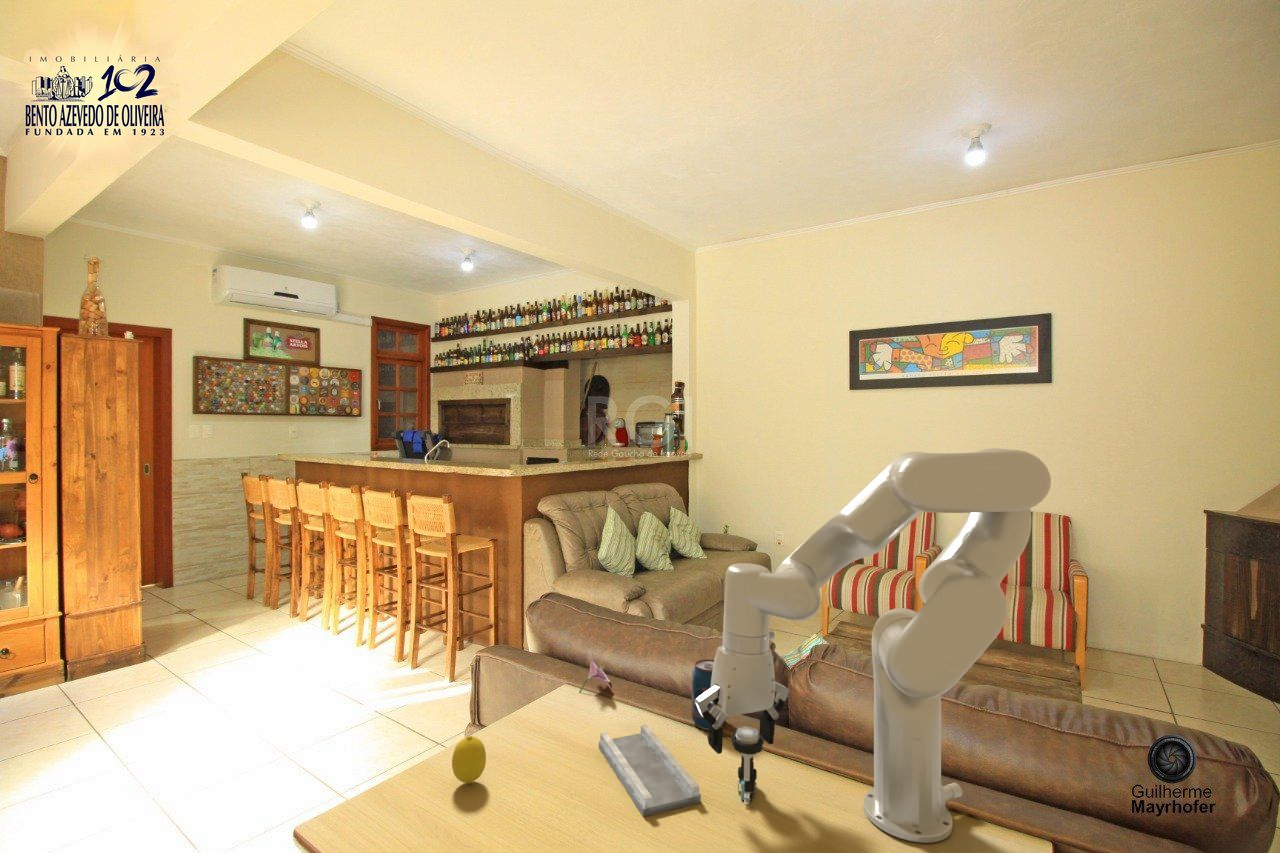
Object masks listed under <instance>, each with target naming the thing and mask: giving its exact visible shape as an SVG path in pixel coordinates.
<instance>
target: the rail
mask: <svg viewBox="0 0 1280 853" xmlns="http://www.w3.org/2000/svg"><path fill="white" fill-rule="evenodd" d="M599 735H600V738H599V739H600V741H598V749H599V750H600V752H601V753H602V755H603V757H604V758H605V760H606V761H607V763H608V764H609V766H610V768H611V769H612V770H613V772H614V773H615V775H616V777H617V778H618V780H619V781H620V783H621V785H622V786H623V788H624V789H625V791H626V792H627V794H628V796H629V797H630V799H631V800H632V802H633V804H634V805H635V807H636V808H637V810H638V812H640V814H641V816H642V818H645V817H649V816H653V815H657V814H661V813H665V812H668V811H673V810H675V809H681V808H684V807H688V806H693V805H695V804H699V803H702V795H701V794H700V785H699V784H698V783H697V781H696V780H695V779H694V778H693V777H692V775H691V774H690V773H689V772H688V771H687V770H686V769H685V768H684V766H683V765H682V764H681V763H680V762H679V761H678V759H677V758H676V757H675V756H674V755H673V753H671V751H670V750H669V749H668V748H667V747H666V745H665V744H664V743H663V742H662V741H661V740H660V738H658V736H657V735H656V734H655V733H654V731H653V730H652V729H651V728H650V726H648V724H642V725H640V732H639V733H636V734H635V733H634V734H630V735H625V736H621V737H615V738H611V736H610V735H609V733H608V732H607V731H604V732H601V733H600V734H599Z"/></svg>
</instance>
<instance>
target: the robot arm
mask: <svg viewBox="0 0 1280 853" xmlns="http://www.w3.org/2000/svg"><path fill="white" fill-rule="evenodd" d="M1051 486H1052V477H1051V474H1050V471H1049V469H1048V467H1047V466H1046V463H1045V462H1043V461H1042V460H1041V459H1040V458H1039V457H1038V456H1036V455H1034V454H1033V453H1030V452H1027V451H1025V450H1020V449H1009V448H993V447H992V448H984V449H980V450H978V451H975V452H974V451H973V452H958V453H957V452H956V453H955V452H954V453H951V452H949V453H944V452H943V453H941V452H939V453H935V452H934V453H933V452H920V451H909V452H906V453H902V454H899V456H897V457H895V458H894V459H893V460H892V461H891V462H889V463H888V465H886V466H885V467H884V468H883V469H882V470H881V471H880V472H878V474H877V475H876V476H874V478H873V479H872V480H871V481H869V483H868V484H866V485H865V486H864V488H863V489H861V490H860V491H859V492H858V493H857V494H856V495H855V496H854V497H853V498H852V499H851V500H850V501H849V502H848V503H846V505H844V507H842V509H840V510H839V511H838V512H837V513H836V514H835V515H833V516H832V517H831V518H830V519H828V521H826V522H825V523H824V524H823V525H822V526H821V527H819V528H818V529H817V530H816V531H815V532H813V533H811V535H810V536H808V537H807V538H806V540H804V541H803V542H802V543H801V544H800V545H799V546H798V547H796V548H795V549H794V550H793V551H792V552H791V554H790V555H788V556H787V557H786V558H785V559H784V560H783V561H782V562H781V563H780V564H779V565H778V567H777V568H776V570H775V571H774V572H771V571H770V570H769V568H767V567H766V566H764V565H760V564H757V563H749V562H748V563H747V562H743V563H742V562H739V563H734V564H730V565H729V566H728V567H727V569H726V572H725V576H724V578H725V580H724V597H723V598H724V600H723V601H724V603H723V621H722V622H723V624H722V626H723V629H722V644H721V646H718V647H717V649H716V653H715V655H714V656H715V657H714V659H713V660H714V665H713V671H712V678H711V687H710V689H709V690H708V691H706V692H705V693H703V694H702V695H701V696H699V697H698V698H696V699H695V704H696V706H697V708H698V710H699V713H700V715H701V716H702V717H703V718H704V719H705V720H706V721H707V722H708V723H709V726H708V730H707V731H708V732H707V734H708V735H707V742H708V745H709V747H710V748H711V749H712V750H713V751H714V752H715V753H716V754H718V755H720V754H722V752H723V744H724V743H723V741H724V729H723V728H722V727H720V726H721V725H722V723H723V722H724V720H725V719H726V720H727V717H728V716H730V717H731V716H737V715H744V714H751V713H757V712H760V716H759V730H758V731H759V732H758V733H759V734H760V735H762V736H763V738H764V741H765V742H766V743H767V744H769V745H773V744H774V738H775V736H774V735H775V727H776V726H775V724H776V720H777V719H779V713H780V711H781V710H782V709H783V708H784V707H785V702H786V700H787V698H788V696H789V694H790V689H789V688H788V687H786V686H785V685H783V684H781V683H779V682H776V676H775V666H774V663H775V662H774V657H773V651H772V648H770V641H771V640H774V639H775V633H774V631H773V630H770V629H771V626H770V625H771V616H774V617H777V618H781V619H784V620H788V621H793V622H803V621H807V620H810V619H812V618H813V617H814V616H815V615H816V614H817V613H818V611H819V610H820V607H821V603H822V594H821V592H820V589H821V588H822V587H823V586H824V585H825V584H826V583H827V582H829V581H830V579H832V578H833V577H834V576H835V575H836V574H837V573H838V572H840V571H841V570H843V568H845V567H846V566H848V565H849V564H852V563H853V562H855V561H858V560H860V559H864V558H867V557H871V556H873V555H876V554H877V553H879V552H882V550H884V549H885V548H886V547H887V546H888V545H889V544H890V543H891V542H892V541H893V540H894V539H895V538H896V537H897V536H899V534H901V533H902V532H903V531H904V530H905V528H907V527H908V526H909V525H910V524H911V523H912V522H913V521H915V519H917V518H918V517H919V516H920V515H921V514H922V513H923V512H924V513H937V514H941V513H942V514H947V513H948V514H967V513H968V514H967V517H966V519H965V521H964V522H963V524H962V525H961V527H960V528H959V529H958V531H957V532H956V534H955V535H954V536H953V538H952V539H951V540H950V541H949V543H948V544H946V546H945V547H944V548H943V550H942V551H941V552H940V553H939V555H937V557H935V559H934V560H933V561H932V562H931V564H930V565H929V566H928V567H927V568H926V569H925V570H924V571H923V572H922V575H921V577H920V579H919V581H918V593H919V597H920V599H921V601H922V603H923V605H922V606H921V608H920V609H919V610H918V611H915V610H913V609H909V608H903V607H901V608H900V607H899V608H893V609H890V610H887V611H886V612H884V613H883V614H881V615H880V616H879V617H878V619H877V620H876V622H875V624H874V626H873V629H872V633H871V634H872V635H871V655H872V656H871V658H872V672H873V705H874V706H873V788H872V789H870V790H869V791H867V792H866V793H865V795H864V797H863V804H862V806H863V810H864V813H865V815H866V816H867V818H868V819H869V820H870V822H871V823H873V824H874V825H875V826H876V827H877V828H879V829H880V830H882V831H883V832H885V833H886V834H889V835H891V836H892V837H896V838H899V839H901V840H905V841H908V842H914V843H920V844H921V843H923V844H930V843H937V842H940V841H943V840H945V839H948V837H950V835H951V834H952V832H953V826H954V824H953V817H952V814H951V813H950V812H949V810H948V809H947V807H946V804H948V803H949V801H950V800H953V799H956V798H959V797H962V795H963V789H962V787H961V786H960V784H958V783H957V782H952V783H949V784H945V785H944V786H943V783H942V699H941V697H942V695H944V694H945V693H947V692H949V690H951V689H952V688H953V687H954V686H955V685H956V684H957V683H958V682H959V681H960V680H961V678H963V677H964V675H965V674H967V672H968V670H970V669H971V668H972V667H973V665H974V664H975V663H976V662H977V661H978V659H979V658H980V657H981V656H982V655H983V653H985V651H986V650H987V649H988V648H989V646H990V645H991V644H992V643H993V642H994V640H995V639H997V637H998V635H999V634H1000V633H1001V632H1002V629H1003V627H1004V625H1005V622H1006V619H1007V615H1008V602H1007V598H1006V595H1005V592H1004V591H1003V589H1002V587H1001V586H1000V583H1001V582H1002V581H1003V580H1004V579H1005V577H1006V576H1007V574H1008V573H1009V572H1010V570H1011V569H1012V568H1013V567H1014V565H1015V564H1016V562H1017V561H1018V560H1019V558H1020V557H1021V555H1022V554H1023V553H1024V550H1025V549H1026V547H1027V544H1028V542H1029V540H1030V535H1031V532H1032V530H1031V529H1032V512H1031V508H1034V507H1036V506H1037V505H1039V504H1041V502H1043V500H1044V499H1045V498H1047V496H1048V494H1049V492H1050V490H1051ZM775 693H776V695H775ZM710 702H711V704H713V705H714V706H713V707H712V709H711V710H710V711H708V708H707V705H708V704H709V703H710ZM719 711H720V713H719ZM718 713H719V714H718ZM717 714H718V716H717ZM716 716H717V717H716ZM715 717H716V719H715ZM726 720H725V721H726ZM724 723H725V722H724ZM722 726H723V725H722Z"/></svg>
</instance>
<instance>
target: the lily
mask: <svg viewBox="0 0 1280 853" xmlns="http://www.w3.org/2000/svg"><path fill="white" fill-rule="evenodd" d="M583 645H584V647H585V649H586V650H587V652H588V653H589V654H588V655H589V656H587V657H588V658H587V659H589V661H590V664H589V676H588V677H587V679H585V681H584V683H583V684H582V686H581V688H580V690H579V693H581V692H582V691H583V689H584V687H585V684H586V683H587V682H588V681H589V679H591V678H593V679H597V680H599V681H603V682H604V683H605V684H606V685H607V686H608V687H609V690H611V692H612V693H613V694H614V691H613V689H612V687H611V686H610V684H609V683H611V681H610V679H609V678H608V676H607V675H606V673H605V671H603V669H604V668H605V667H606V666H605V665H603V664H601V666H600V667H598V666H597V664H596V663H595V662H594V660H593V655H592V654H591V652H590V650H589V649H588V648H587V646H585V644H583ZM608 682H609V683H608Z"/></svg>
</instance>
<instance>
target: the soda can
mask: <svg viewBox="0 0 1280 853" xmlns="http://www.w3.org/2000/svg"><path fill="white" fill-rule="evenodd" d="M714 660H715V659H710V658H708V659H706V658H704V659H700V660H698V661H696V662H695V664H694V668H693V670H692V672H691V694H692V695H691V718H692V721H693V722H694V724H695V726H696V727H698V728H699V729H702V730H706V731H708V726H709V723H708V722H707V721H706V720H705V719H704V718H703V717H702V716H701V715H700V713H699V710H698V708H697V706H696V704H695V699H696V698H698V697H699V696H701V695H702V694H703V693H705V692H706V691H708V690H709V689H710V687H711V678H712V671H713V665H714ZM713 706H714V705H713V704H711V702H710V703H709V704H708V705H707V708H708V711H710V710H711V709H712V707H713ZM719 713H720V711H719ZM719 713H718V714H719ZM718 714H717V716H718ZM717 716H716V717H717ZM716 717H715V719H716ZM726 720H727V718H726V719H725V720H724V722H723V723H722V725H721V726H720V727H721V728H722V727H723V725H724V724H725V722H726Z"/></svg>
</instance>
